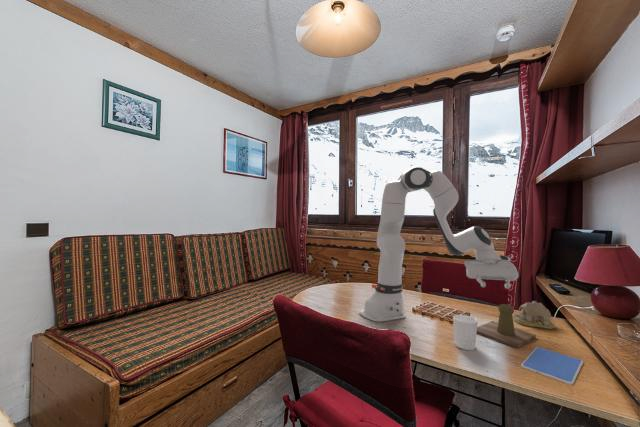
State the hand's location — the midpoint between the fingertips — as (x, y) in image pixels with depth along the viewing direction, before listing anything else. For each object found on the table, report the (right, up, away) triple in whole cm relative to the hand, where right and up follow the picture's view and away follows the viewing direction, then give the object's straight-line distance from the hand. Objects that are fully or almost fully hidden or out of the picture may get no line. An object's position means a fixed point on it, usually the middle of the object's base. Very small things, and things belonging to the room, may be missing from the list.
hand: (495, 287), depth 120 cm
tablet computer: (-1, -18, -30) cm, 35 cm away
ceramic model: (+18, -17, +3) cm, 25 cm away
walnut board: (-3, -17, -9) cm, 19 cm away
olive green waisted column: (-2, -16, -10) cm, 19 cm away
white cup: (-23, -17, -18) cm, 34 cm away
